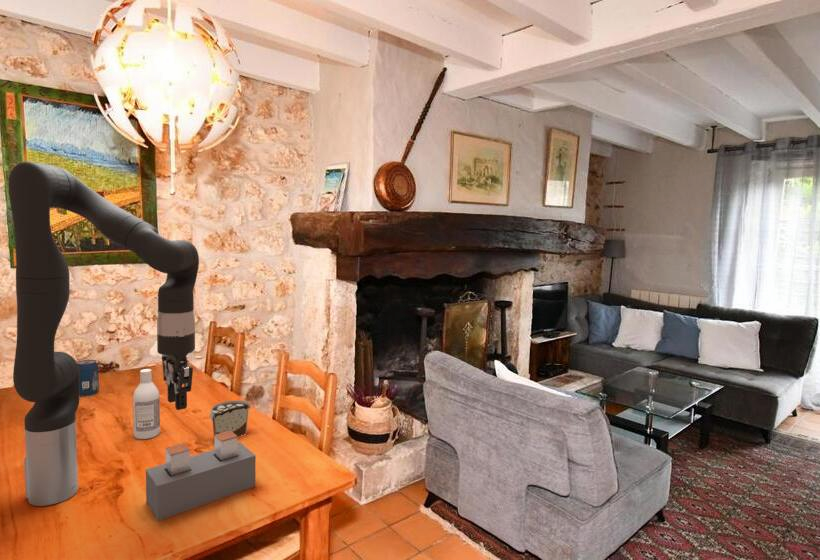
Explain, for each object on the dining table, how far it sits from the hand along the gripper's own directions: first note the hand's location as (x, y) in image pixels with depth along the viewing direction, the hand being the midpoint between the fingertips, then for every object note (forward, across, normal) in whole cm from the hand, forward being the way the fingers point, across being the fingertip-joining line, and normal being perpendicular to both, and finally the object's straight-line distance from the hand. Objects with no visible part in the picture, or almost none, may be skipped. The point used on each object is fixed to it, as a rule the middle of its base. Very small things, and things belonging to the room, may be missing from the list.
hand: (177, 404), depth 106 cm
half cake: (+24, -27, +22) cm, 42 cm away
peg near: (+18, 0, 0) cm, 18 cm away
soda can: (+24, -91, -4) cm, 94 cm away
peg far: (+18, 0, +11) cm, 21 cm away
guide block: (+23, 0, +6) cm, 24 cm away
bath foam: (+24, -42, +4) cm, 48 cm away
